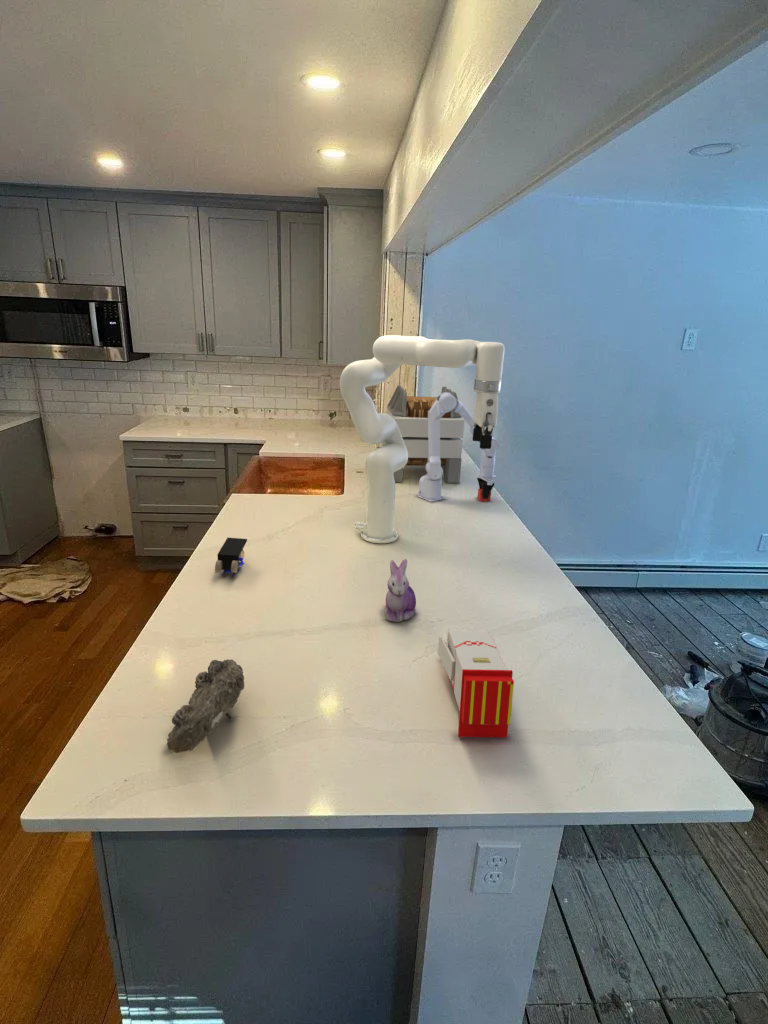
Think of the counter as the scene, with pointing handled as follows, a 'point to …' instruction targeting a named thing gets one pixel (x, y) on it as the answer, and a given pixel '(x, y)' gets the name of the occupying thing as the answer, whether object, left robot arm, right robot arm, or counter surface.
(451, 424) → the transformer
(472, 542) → the counter surface
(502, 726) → the toy
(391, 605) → the figurine
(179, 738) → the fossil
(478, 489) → the cube
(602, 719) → the counter surface
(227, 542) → the figurine character
